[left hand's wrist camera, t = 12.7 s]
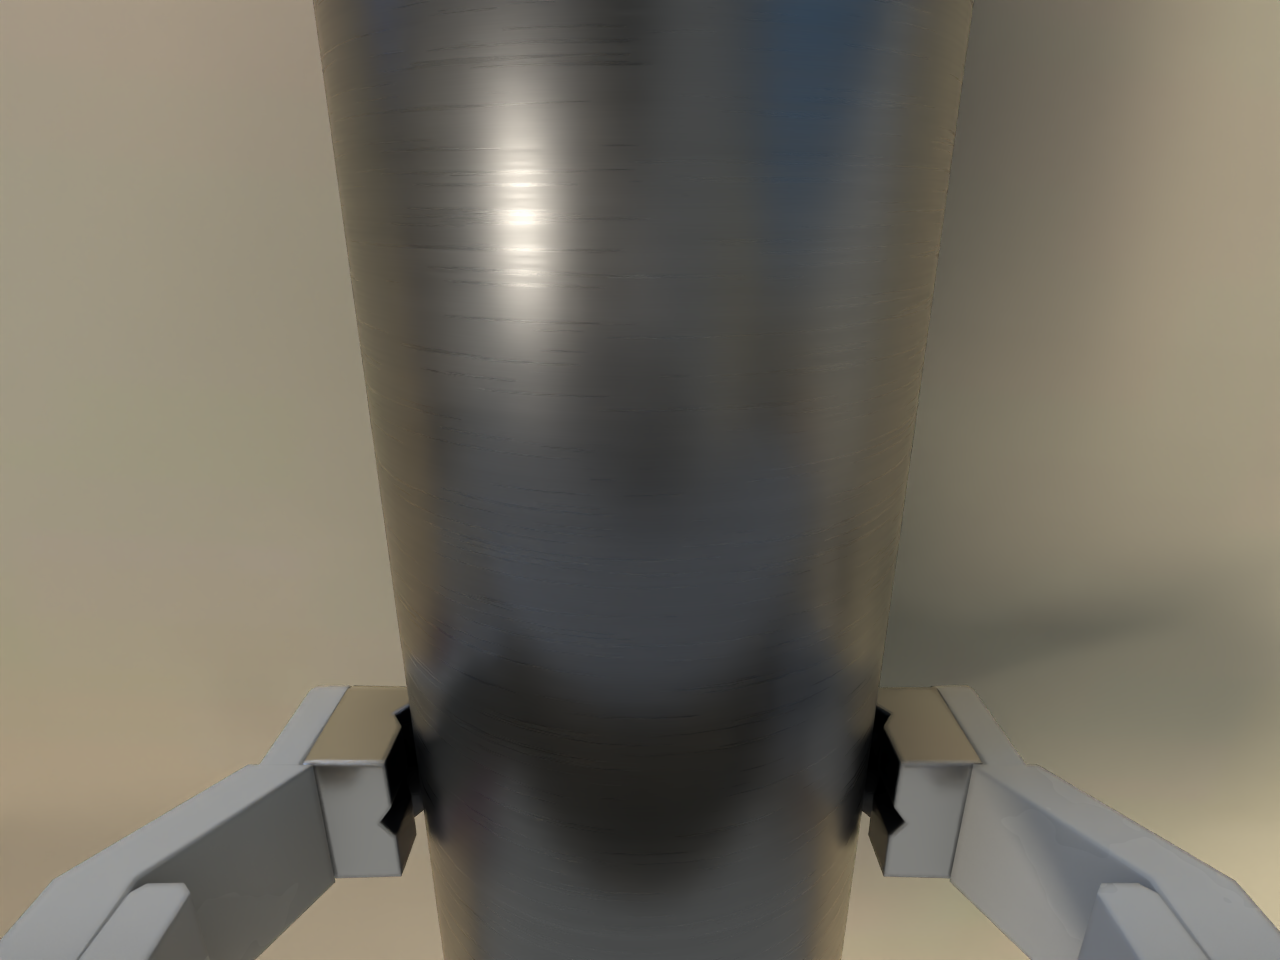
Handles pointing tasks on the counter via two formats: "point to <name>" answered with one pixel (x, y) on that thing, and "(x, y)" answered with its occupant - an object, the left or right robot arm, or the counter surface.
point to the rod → (643, 440)
